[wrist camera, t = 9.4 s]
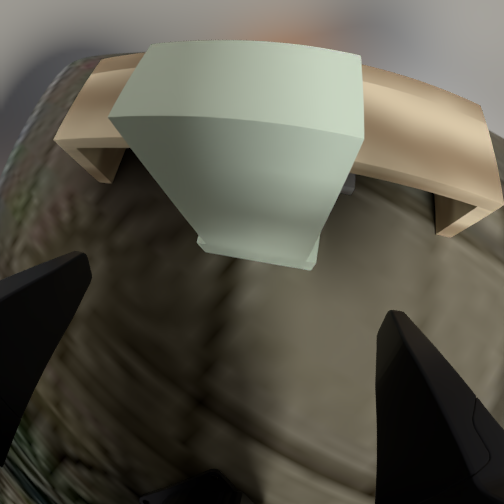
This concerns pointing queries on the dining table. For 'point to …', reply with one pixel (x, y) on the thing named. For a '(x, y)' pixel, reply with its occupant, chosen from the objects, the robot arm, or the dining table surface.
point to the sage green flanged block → (247, 140)
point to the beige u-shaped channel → (369, 156)
